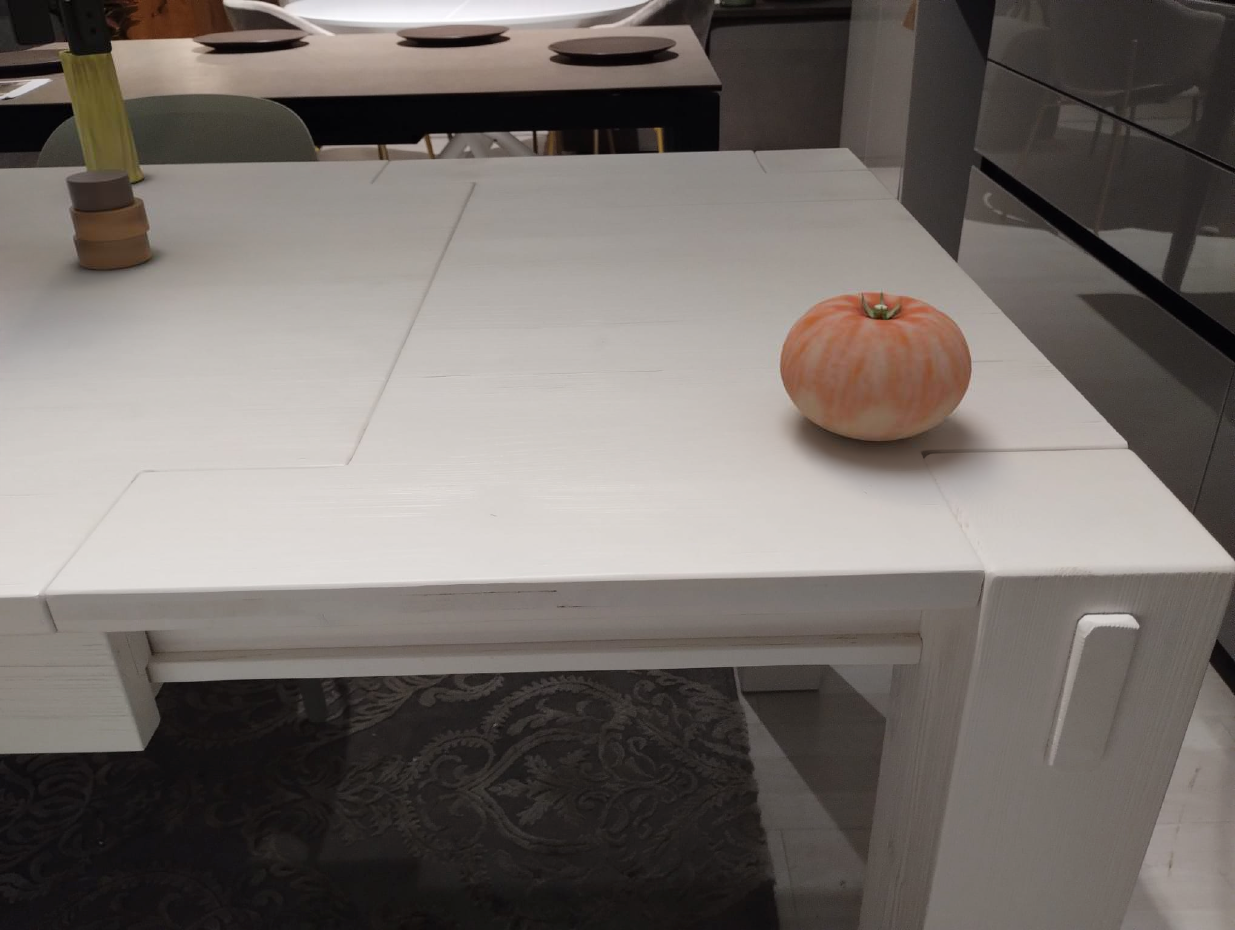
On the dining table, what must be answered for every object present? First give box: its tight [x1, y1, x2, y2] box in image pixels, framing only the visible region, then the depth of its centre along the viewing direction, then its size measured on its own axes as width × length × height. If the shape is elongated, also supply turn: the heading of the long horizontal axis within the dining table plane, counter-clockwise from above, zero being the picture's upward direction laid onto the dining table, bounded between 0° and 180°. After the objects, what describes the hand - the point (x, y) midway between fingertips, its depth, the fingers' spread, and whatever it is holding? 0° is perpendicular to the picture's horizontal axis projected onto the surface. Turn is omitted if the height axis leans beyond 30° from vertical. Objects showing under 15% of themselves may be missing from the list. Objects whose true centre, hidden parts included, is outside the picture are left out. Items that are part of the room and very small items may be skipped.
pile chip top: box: [68, 196, 150, 242], centre depth 90 cm, size 6×6×2 cm
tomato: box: [779, 291, 973, 442], centre depth 59 cm, size 11×11×8 cm
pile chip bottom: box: [72, 231, 153, 271], centre depth 91 cm, size 6×6×2 cm
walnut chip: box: [65, 169, 135, 212], centre depth 89 cm, size 5×5×2 cm
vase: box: [58, 49, 145, 184], centre depth 116 cm, size 6×6×14 cm
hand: (63, 48), depth 84 cm, fingers open, 9 cm apart
